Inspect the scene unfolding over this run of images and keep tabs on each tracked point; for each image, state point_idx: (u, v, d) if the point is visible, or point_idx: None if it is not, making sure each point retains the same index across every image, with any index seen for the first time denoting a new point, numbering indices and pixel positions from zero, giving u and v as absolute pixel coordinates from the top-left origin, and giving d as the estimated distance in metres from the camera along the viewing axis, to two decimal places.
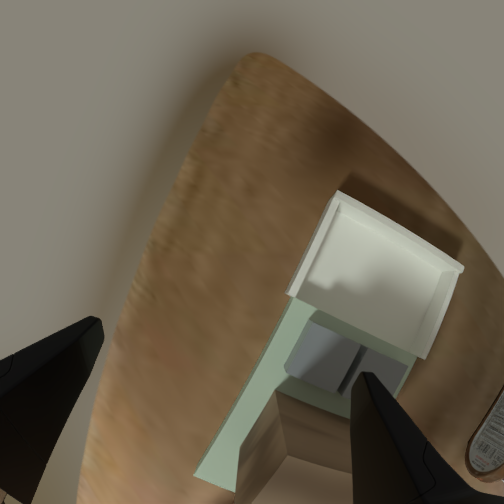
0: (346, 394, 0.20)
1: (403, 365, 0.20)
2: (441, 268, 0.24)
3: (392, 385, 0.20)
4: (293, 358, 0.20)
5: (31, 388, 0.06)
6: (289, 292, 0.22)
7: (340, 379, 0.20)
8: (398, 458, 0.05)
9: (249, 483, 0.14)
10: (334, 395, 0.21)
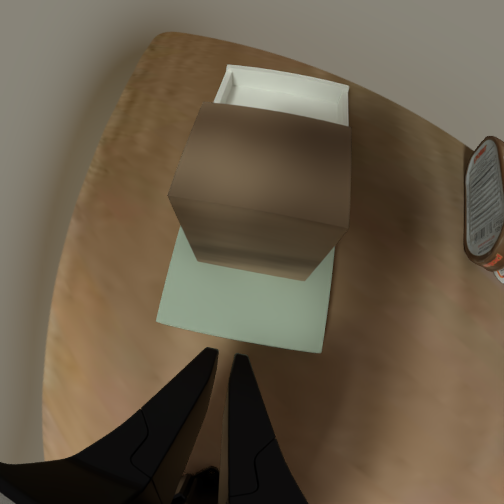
0: None
1: None
2: (334, 99, 0.30)
3: None
4: None
5: None
6: None
7: None
8: None
9: None
10: None
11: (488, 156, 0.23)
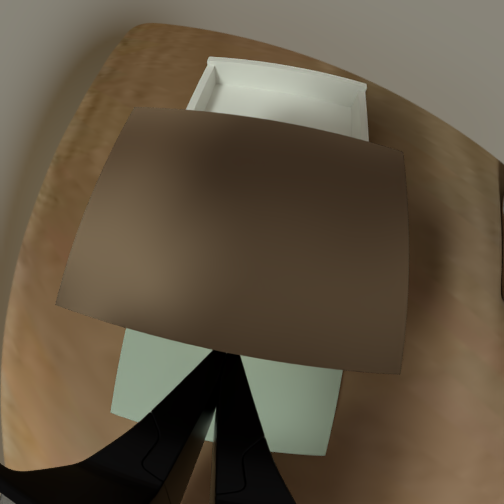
0: None
1: None
2: (347, 100, 0.23)
3: None
4: None
5: None
6: None
7: None
8: None
9: None
10: None
11: None
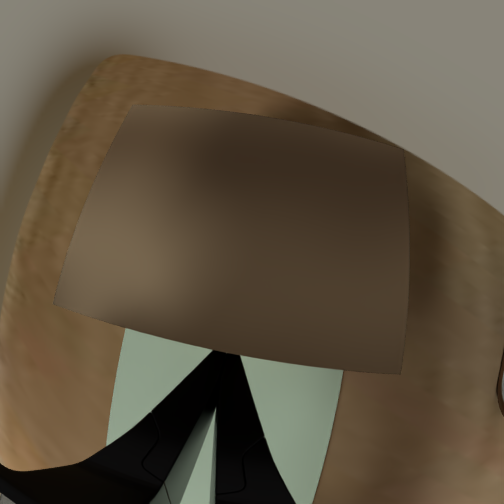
0: None
1: None
2: None
3: None
4: None
5: None
6: None
7: None
8: None
9: None
10: None
11: None
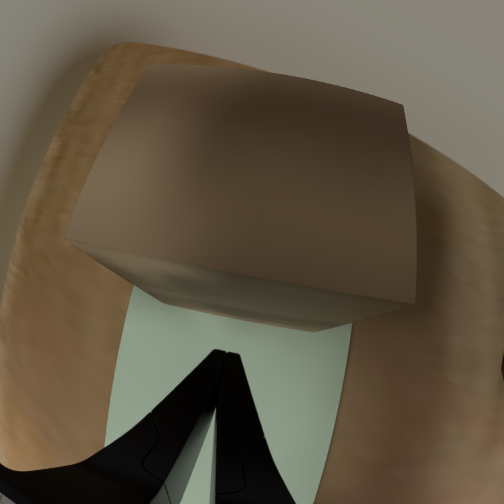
0: None
1: None
2: None
3: None
4: None
5: None
6: None
7: None
8: None
9: None
10: (247, 335, 0.15)
11: None
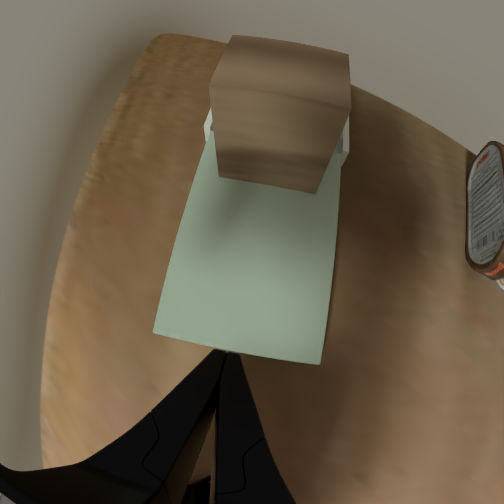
0: None
1: None
2: None
3: None
4: None
5: None
6: (204, 125, 0.26)
7: None
8: None
9: None
10: (273, 193, 0.24)
11: (491, 162, 0.23)
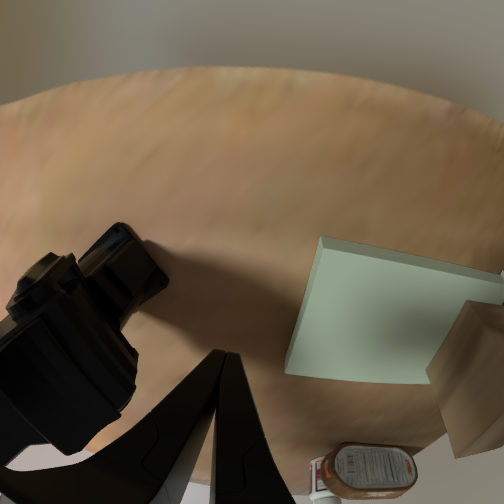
0: None
1: None
2: None
3: None
4: None
5: None
6: None
7: None
8: None
9: None
10: (435, 342, 0.22)
11: (402, 476, 0.28)
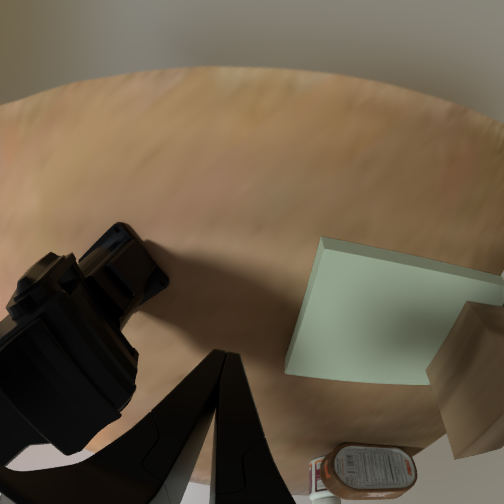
0: None
1: None
2: None
3: None
4: None
5: None
6: None
7: None
8: None
9: None
10: (436, 343, 0.22)
11: (402, 476, 0.28)
